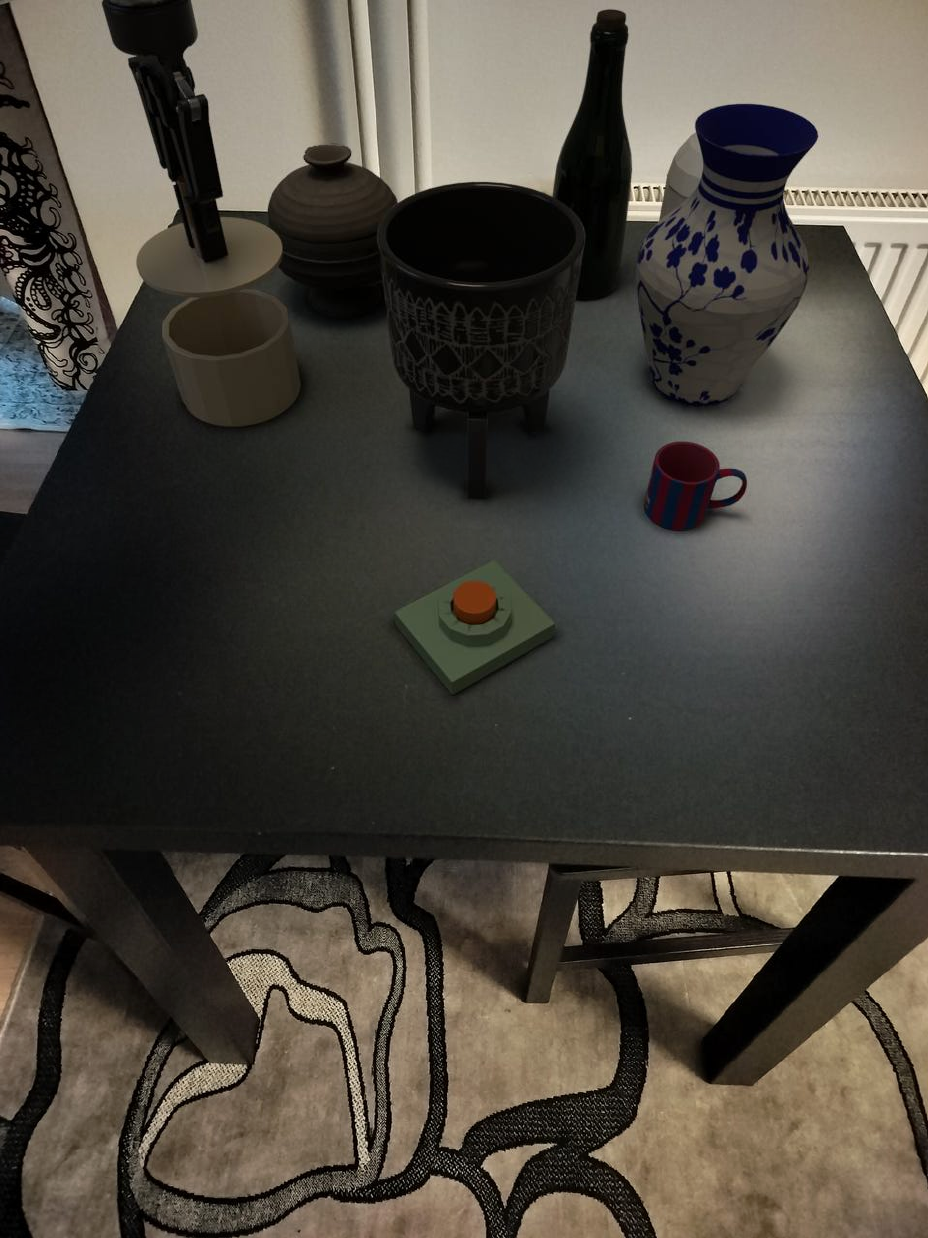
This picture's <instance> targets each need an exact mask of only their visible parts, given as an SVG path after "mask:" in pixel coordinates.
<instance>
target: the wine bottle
mask: <svg viewBox="0 0 928 1238" xmlns="http://www.w3.org/2000/svg"><path fill="white" fill-rule="evenodd" d="M626 22H627V13H626V12H624V11H623V10H620V9H619V10H618V9H613V8H609V9H602V10H600V11H598V12H597V14H596V20H595V23H594V24H592V27H591V30H590V34H589V51H588V59H587V60H588V61H587V68H586V75H585V76H586V77H585V82H584V87H583V92H582V95H581V100H580V103H579V106H578V109H577V111H576V114H575V116H574V119H573V120H572V123H571V126H570V128H569V129H568V132H567V134H566V136H565V138H564V141H563V143H562V146H561V148H560V151H559V155H558V159H557V162H556V166H555V174H554V179H553V186H552V187H553V189H552V195H551V196H552V197H554V198H556V199H558V200H559V201H561V202H563V203H564V204H566V205H567V206H568V207H569V208H570V209H571V210H573V211H574V212H575V214H576V215H577V216H578V217H579V219H580V220H581V223H582V225H583V227H584V230H585V236H586V238H585V245H584V251H583V258H582V264H581V270H580V276H579V282H578V289H577V295H576V299H581V300H582V299H583V300H584V299H587V300H588V299H594V298H599V297H602V296H604V295H607V294H608V293H610V292H611V291H612V290H613V289H615V287H616V286H617V284H618V282H619V277H620V272H621V264H622V259H623V250H624V244H625V235H626V229H627V221H628V213H629V204H630V197H631V189H632V188H631V187H632V178H633V177H632V174H633V156H632V149H631V143H630V140H629V134H628V130H627V125H626V120H625V114H624V113H625V112H624V105H623V83H624V82H623V81H624V69H625V58H626V51H627V46H628V42H629V37H630V34H629V26H628V25H627V24H626Z"/></svg>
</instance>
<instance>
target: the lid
mask: <svg viewBox="0 0 928 1238" xmlns="http://www.w3.org/2000/svg"><path fill="white" fill-rule="evenodd" d="M177 181H178V185H179V189H180V193H181V196H182V197H185V196H189V192H188V189H187V185H186V182H185V178H184V175H183V173H182V174H180V175H179V176H178V177H177ZM182 200H183V198H182ZM183 204H184V208H185V212H186V215H187V219H188V223H189V227H190V231H191V235H192V238H193V242H194V246H195V248H193V249H192V248H191V247H190V246H189V243H188V239H187V236H186V232H185V228H184V224H183V222H180V223H178V224H175V225H172V226H170V227H168V228H164V229H163V230H161V231H160V232H158V233H156V234H155V235H153V236H152V237H151V238H149V239H148V240H147V241H145V243H144V244H143V245H142V246H141V248H140V249H139V251H138V253H137V255H136V259H135V264H136V269H137V272H138V275H139V276H140V278H141V280H142V281H144V283H145V284H146V285H147V286H149V287H151V289H154V290H156V291H158V292H160V293H164V294H167V295H170V296H175V297H181V298H182V297H183V298H191V297H193V298H195V297H214V296H221V295H226V294H230V293H234V292H238V291H241V290H244V289H249V288H252V287H254V286H255V285H258V284H260V283H261V282H263V281H264V280H266V279H267V278H268V277H270V276H271V275H273V273H274V272H275V271H276V270H277V269H278V268H279V267H278V266H279V265H280V263H281V260H282V257H283V247H282V243H281V240H280V238H279V236H278V235H277V234H276V233H275V232H274V231H273V230H271V229H270V228H268V225H266V224H262V223H260V222H258V221H254V220H251V219H247V218H246V219H245V218H241V217H233V216H231V217H230V216H220V220H221V224H222V229H223V233H224V237H225V242H226V246H227V250H228V256H225V257H222V258H218V259H215V260H212V261H209V262H206V263H205V262H204V261H203V260H202V256H201V252H200V249H199V245H198V241H197V237H196V233H195V229H194V225H193V221H192V217H191V214H190V210H189V206H188V205H186V204H185V202H184V200H183Z"/></svg>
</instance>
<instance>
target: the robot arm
mask: <svg viewBox="0 0 928 1238" xmlns="http://www.w3.org/2000/svg"><path fill="white" fill-rule="evenodd" d="M15 1H16V0H0V5H4V4H7V3H11V2H15ZM101 6H102V10H103V13H104V17H105V21H106V24H107V28H108V30H109V35H110V38H111V41H112V44H113V45H114V47H115V48H116V49H117V50H118V51H120V52H122V53H124V54H127V55H130V56H131V57H128V58H127V62H128V63H127V64H128V68H129V69H130V71H131V74H132V76H133V80H134V82H135V84H136V87H137V91H138V93H139V97H140V100H141V104H142V108H143V110H144V113H145V117H146V120H147V124H148V127H149V130H150V134H151V137H152V140H153V144H154V147H155V150H156V154H157V157H158V162H159V165H160V166H161V168H162V169H163V170H167V176H168V179H169V180H170V181H171V183H174V184H173V185H172V188H173V190H174V194H175V197H176V198H175V199H176V202H177V206H178V210H179V213H180V215H181V216H180V217H181V221H182V223H183V224H184V228H185V232H186V236H187V239H188V243H189V246H190V247H191V248H192V249H193V248H195V246H194V242H193V238H192V235H191V231H190V227H189V223H188V219H187V215H186V212H185V208H184V204H183V200H184V202H185V204H186V205H188V206H189V210H190V214H191V217H192V221H193V225H194V229H195V233H196V237H197V241H198V245H199V249H200V252H201V256H202V260H203V261H204V262H205V263H206V262H209V261H212V260H215V259H218V258H222V257H225V256H228V250H227V246H226V242H225V237H224V233H223V229H222V224H221V220H220V217H221V216H220V212H219V207H218V202H217V199H218V200H219V199H221V198H223V197H224V191H223V188H222V187H223V186H222V182H221V177H220V171H219V165H218V160H217V156H216V150H215V144H214V139H213V135H212V129H211V123H210V108H209V107H210V106H209V100H208V98H207V96H206V95H205V94H204V93H201V94H197V95H196V92H195V90H196V83H195V79H194V74H193V72H192V70H191V67H189V66H187V62H186V60H185V58H184V54H185V51H186V50H187V49H188V48H190V47H192V46H194V45H195V43H196V41H197V40H198V38H199V37H198V36H199V31H198V27H197V22H196V17H195V13H194V12H195V11H194V8H193V7H194V6H193V4H192V0H102V1H101ZM182 173H183V175H184V178H185V182H186V185H187V189H188V192H189V196H185V197H182V196H181V193H180V189H179V185H178V181H177V177H178V176H179V175H180V174H182ZM182 198H183V200H182Z"/></svg>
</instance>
